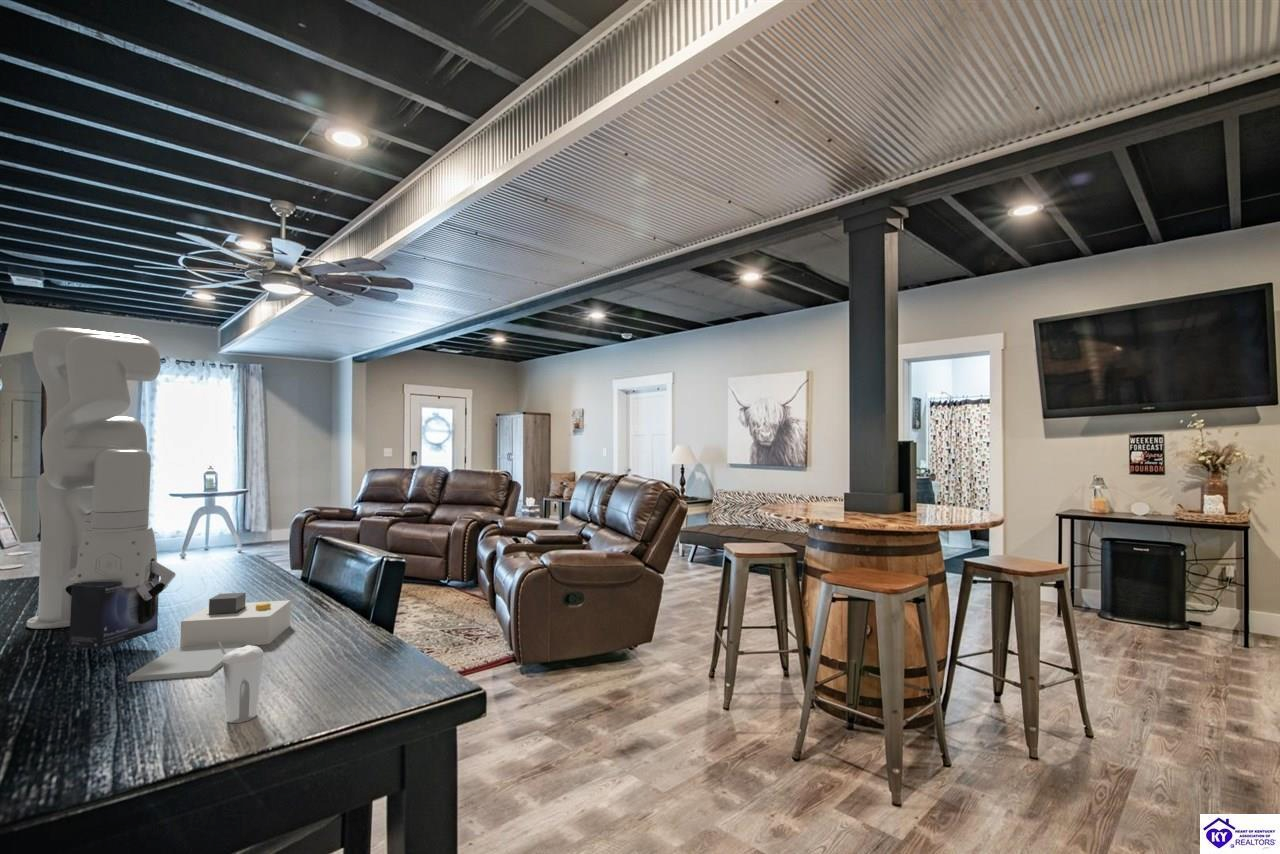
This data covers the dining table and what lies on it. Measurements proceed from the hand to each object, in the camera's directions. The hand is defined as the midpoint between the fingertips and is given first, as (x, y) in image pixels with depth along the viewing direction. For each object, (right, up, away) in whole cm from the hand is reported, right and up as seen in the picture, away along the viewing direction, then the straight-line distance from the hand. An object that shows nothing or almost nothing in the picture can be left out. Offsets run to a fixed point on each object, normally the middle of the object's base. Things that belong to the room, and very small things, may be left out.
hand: (116, 622), depth 105 cm
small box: (0, -3, 0) cm, 3 cm away
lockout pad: (+16, -5, -4) cm, 17 cm away
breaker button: (+13, -4, +9) cm, 16 cm away
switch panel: (+15, -6, +10) cm, 19 cm away
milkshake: (+37, -5, -25) cm, 45 cm away
